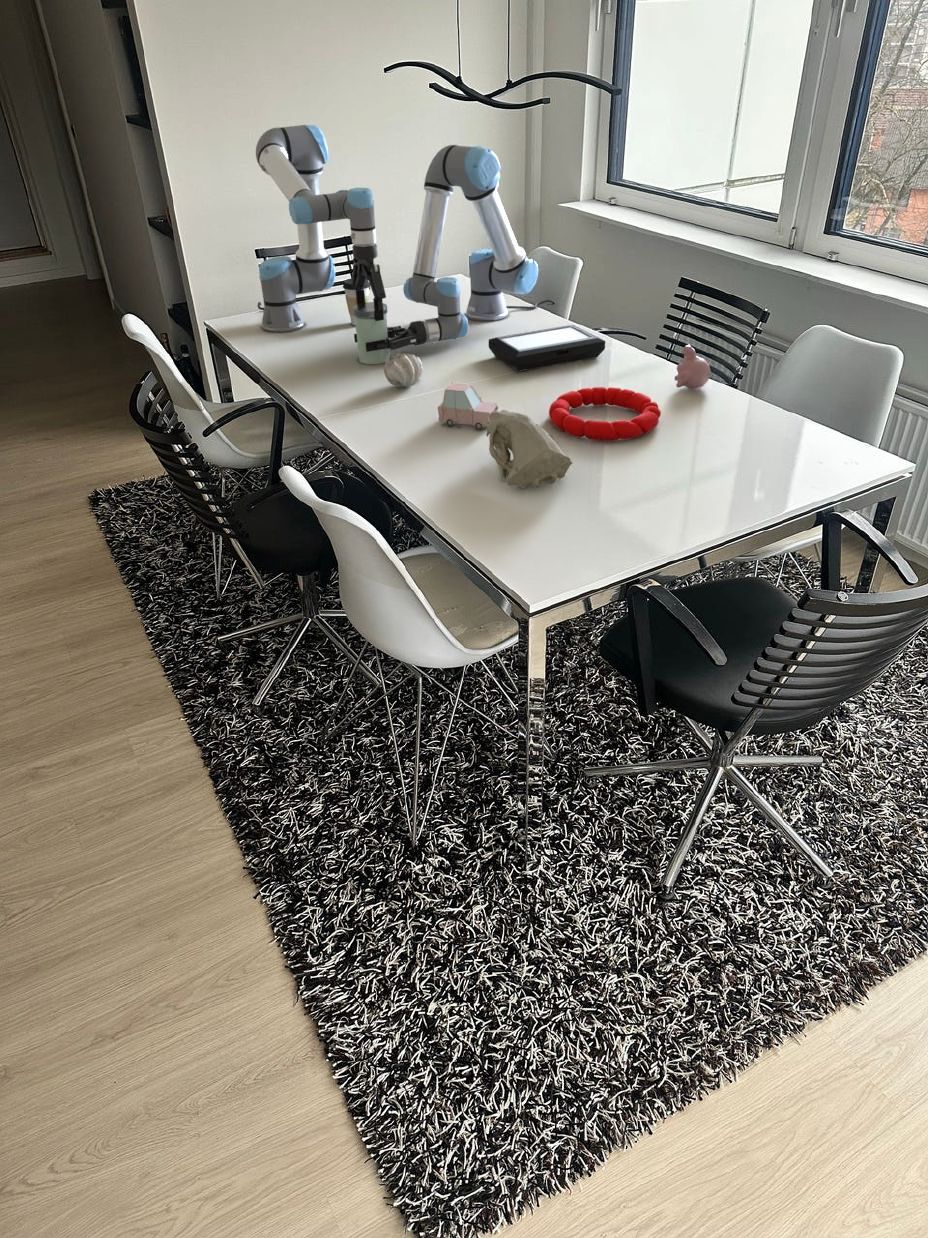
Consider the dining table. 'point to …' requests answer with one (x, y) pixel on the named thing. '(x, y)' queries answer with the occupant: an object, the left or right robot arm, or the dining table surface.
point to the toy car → (465, 406)
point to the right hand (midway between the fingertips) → (360, 342)
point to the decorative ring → (604, 428)
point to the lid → (367, 309)
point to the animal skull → (525, 450)
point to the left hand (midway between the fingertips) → (370, 315)
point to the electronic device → (546, 347)
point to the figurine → (692, 370)
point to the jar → (371, 339)
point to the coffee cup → (354, 296)
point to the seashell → (403, 369)
